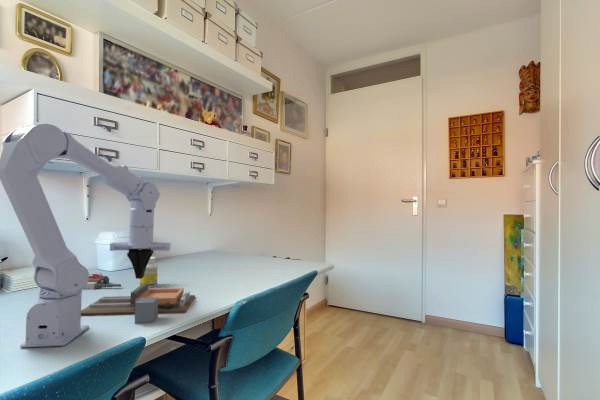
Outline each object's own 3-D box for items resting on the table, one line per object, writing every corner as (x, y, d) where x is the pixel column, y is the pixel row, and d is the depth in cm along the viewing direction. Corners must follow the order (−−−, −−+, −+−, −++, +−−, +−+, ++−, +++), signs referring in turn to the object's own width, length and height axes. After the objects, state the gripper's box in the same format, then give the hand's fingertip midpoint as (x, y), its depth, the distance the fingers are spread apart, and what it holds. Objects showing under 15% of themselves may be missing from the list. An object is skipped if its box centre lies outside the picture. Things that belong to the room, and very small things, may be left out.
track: (184, 312, 80) (185, 302, 80) (76, 315, 77) (76, 305, 77) (194, 296, 94) (195, 288, 94) (103, 298, 90) (103, 290, 90)
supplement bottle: (139, 284, 107) (140, 256, 107) (157, 283, 109) (158, 255, 109) (139, 288, 102) (140, 259, 102) (157, 287, 104) (158, 258, 104)
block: (152, 323, 73) (153, 302, 73) (134, 324, 73) (135, 302, 73) (157, 317, 77) (158, 297, 77) (140, 317, 76) (141, 297, 77)
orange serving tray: (174, 308, 81) (174, 292, 81) (129, 309, 80) (129, 293, 80) (184, 295, 93) (184, 281, 93) (144, 296, 91) (145, 282, 91)
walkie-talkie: (53, 290, 98) (119, 290, 101) (54, 277, 99) (119, 277, 101) (70, 283, 107) (131, 283, 109) (71, 271, 107) (131, 271, 110)
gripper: (173, 226, 87) (172, 274, 87) (118, 225, 85) (116, 274, 84) (167, 227, 80) (165, 280, 80) (106, 227, 78) (104, 280, 77)
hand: (139, 277), depth 81 cm, fingers closed
